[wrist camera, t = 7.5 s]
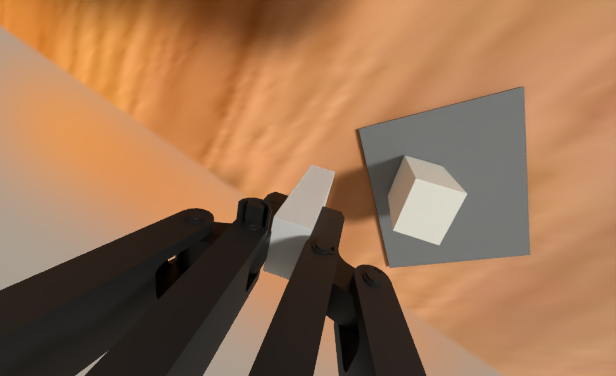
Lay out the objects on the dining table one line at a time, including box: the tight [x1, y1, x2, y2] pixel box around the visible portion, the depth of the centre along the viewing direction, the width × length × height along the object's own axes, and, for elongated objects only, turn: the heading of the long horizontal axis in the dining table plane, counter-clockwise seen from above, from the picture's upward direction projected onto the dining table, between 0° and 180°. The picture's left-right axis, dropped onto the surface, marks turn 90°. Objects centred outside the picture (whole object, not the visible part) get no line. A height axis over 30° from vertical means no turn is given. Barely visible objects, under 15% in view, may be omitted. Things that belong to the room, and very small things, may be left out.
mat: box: [359, 87, 530, 268], centre depth 29 cm, size 18×15×1 cm
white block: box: [388, 155, 467, 245], centre depth 25 cm, size 4×5×8 cm
